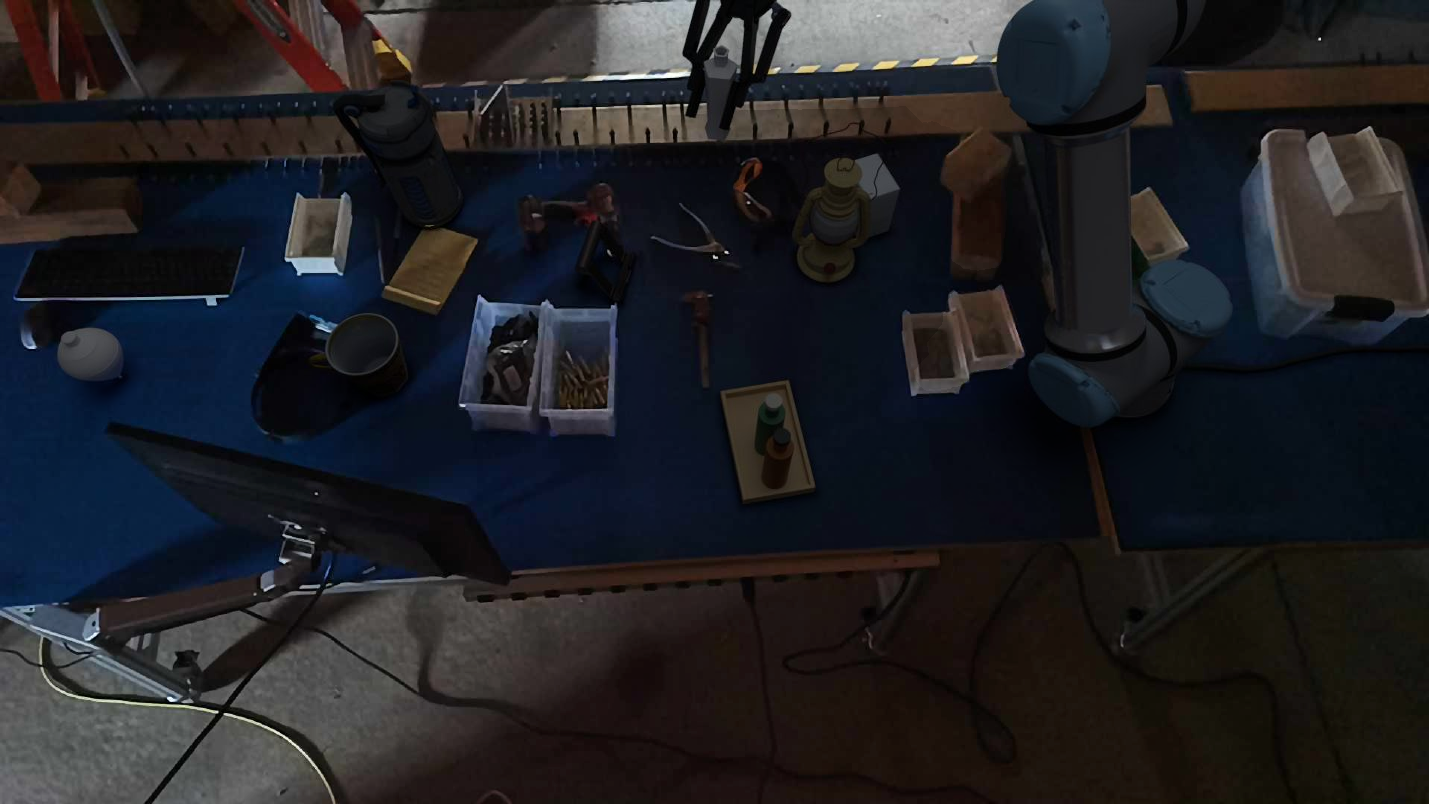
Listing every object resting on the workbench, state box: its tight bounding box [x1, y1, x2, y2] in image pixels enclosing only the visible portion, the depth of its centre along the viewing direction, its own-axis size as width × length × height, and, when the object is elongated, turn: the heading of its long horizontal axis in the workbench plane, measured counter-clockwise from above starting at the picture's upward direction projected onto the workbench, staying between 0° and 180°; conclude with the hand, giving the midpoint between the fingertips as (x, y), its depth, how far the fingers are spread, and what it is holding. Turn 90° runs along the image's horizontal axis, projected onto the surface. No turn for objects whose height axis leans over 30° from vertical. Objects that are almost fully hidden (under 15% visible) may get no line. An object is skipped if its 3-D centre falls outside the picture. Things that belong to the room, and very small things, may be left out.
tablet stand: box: [574, 220, 637, 304], centre depth 133 cm, size 9×8×8 cm
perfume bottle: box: [703, 44, 739, 142], centre depth 121 cm, size 5×4×15 cm
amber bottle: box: [762, 428, 794, 489], centre depth 115 cm, size 4×4×14 cm
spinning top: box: [56, 327, 124, 382], centre depth 123 cm, size 8×8×12 cm
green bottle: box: [754, 393, 786, 456], centre depth 117 cm, size 4×4×14 cm
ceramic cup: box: [308, 312, 409, 398], centre depth 124 cm, size 13×10×10 cm
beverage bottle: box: [332, 79, 464, 228], centre depth 131 cm, size 10×13×25 cm
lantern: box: [791, 121, 887, 283], centre depth 125 cm, size 12×10×30 cm
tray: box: [719, 379, 816, 505], centre depth 123 cm, size 10×17×2 cm, turn 11°
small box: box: [854, 153, 901, 238], centre depth 137 cm, size 8×6×10 cm
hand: (707, 122), depth 121 cm, fingers closed on perfume bottle, 4 cm apart
